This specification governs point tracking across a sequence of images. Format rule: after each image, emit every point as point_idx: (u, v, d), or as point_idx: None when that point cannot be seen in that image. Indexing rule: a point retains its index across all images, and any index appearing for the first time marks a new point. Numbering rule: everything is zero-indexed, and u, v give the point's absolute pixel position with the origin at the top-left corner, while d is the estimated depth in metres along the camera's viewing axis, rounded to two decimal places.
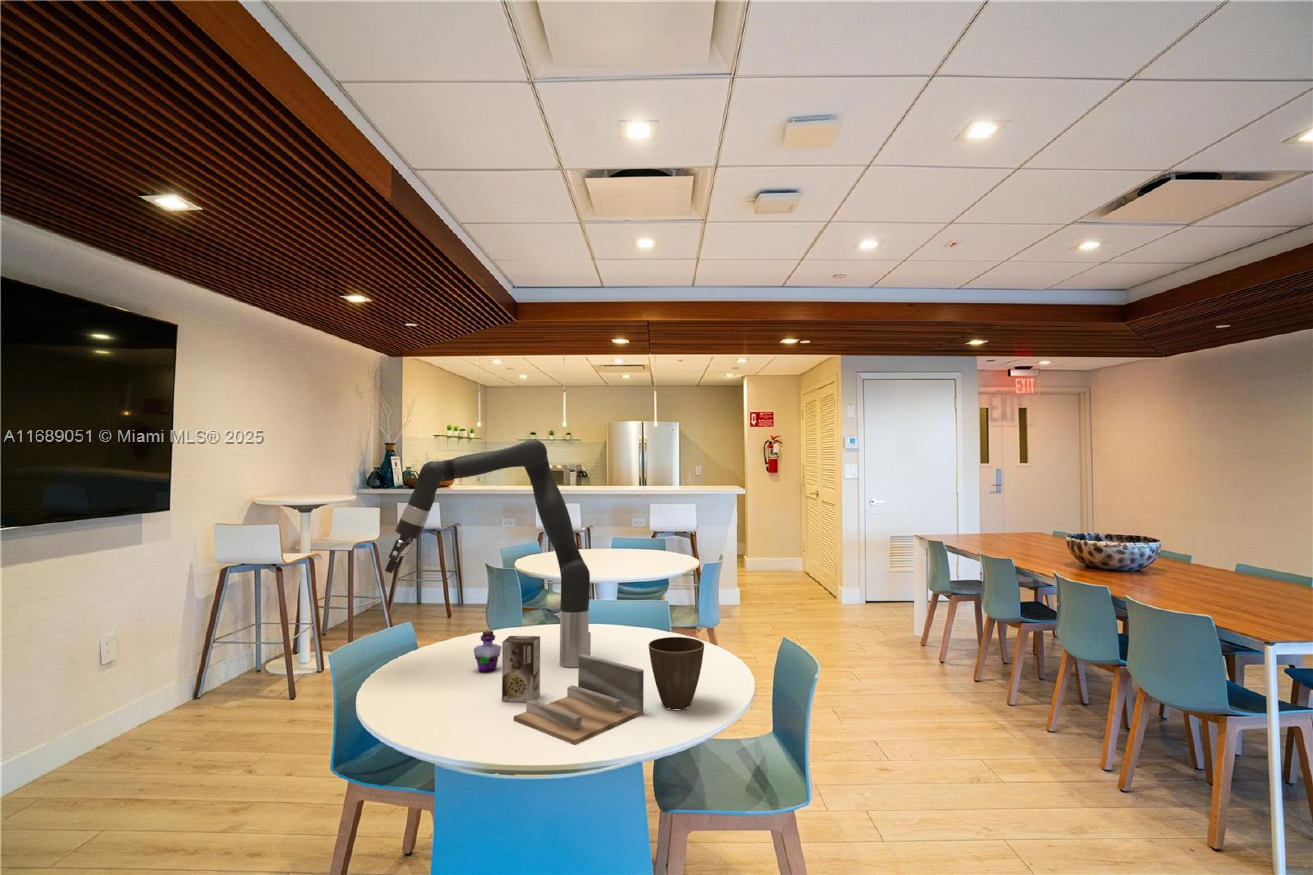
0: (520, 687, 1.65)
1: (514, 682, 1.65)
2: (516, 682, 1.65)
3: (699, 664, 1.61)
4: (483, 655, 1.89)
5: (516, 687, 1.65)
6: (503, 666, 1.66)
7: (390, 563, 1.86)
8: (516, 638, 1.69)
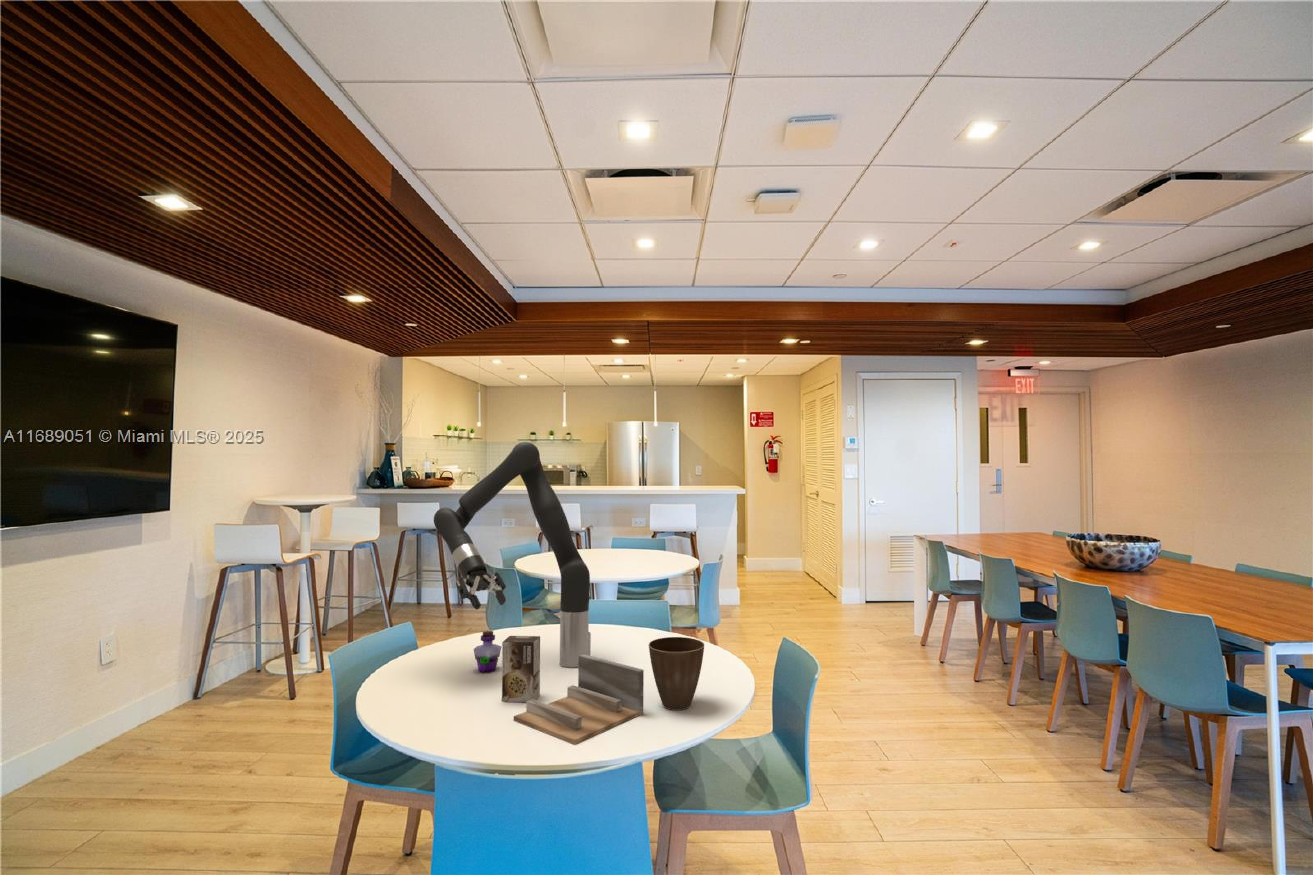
0: (520, 687, 1.65)
1: (514, 682, 1.65)
2: (516, 682, 1.65)
3: (699, 664, 1.61)
4: (483, 655, 1.89)
5: (516, 687, 1.65)
6: (503, 666, 1.66)
7: (471, 600, 1.76)
8: (516, 638, 1.69)
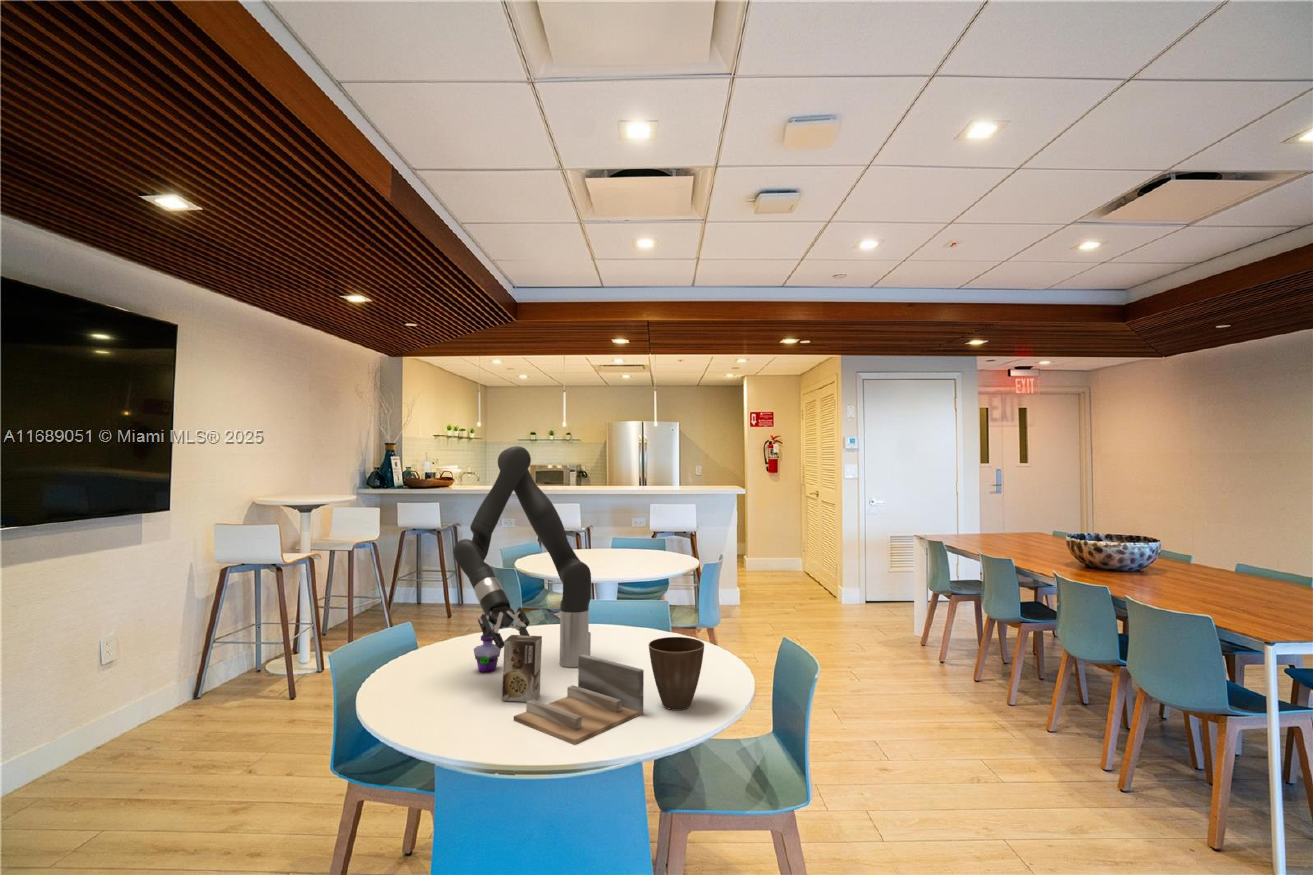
0: (520, 687, 1.65)
1: (514, 681, 1.65)
2: (517, 681, 1.65)
3: (699, 664, 1.61)
4: (483, 655, 1.89)
5: (516, 687, 1.65)
6: (504, 665, 1.66)
7: (494, 639, 1.68)
8: (518, 637, 1.69)
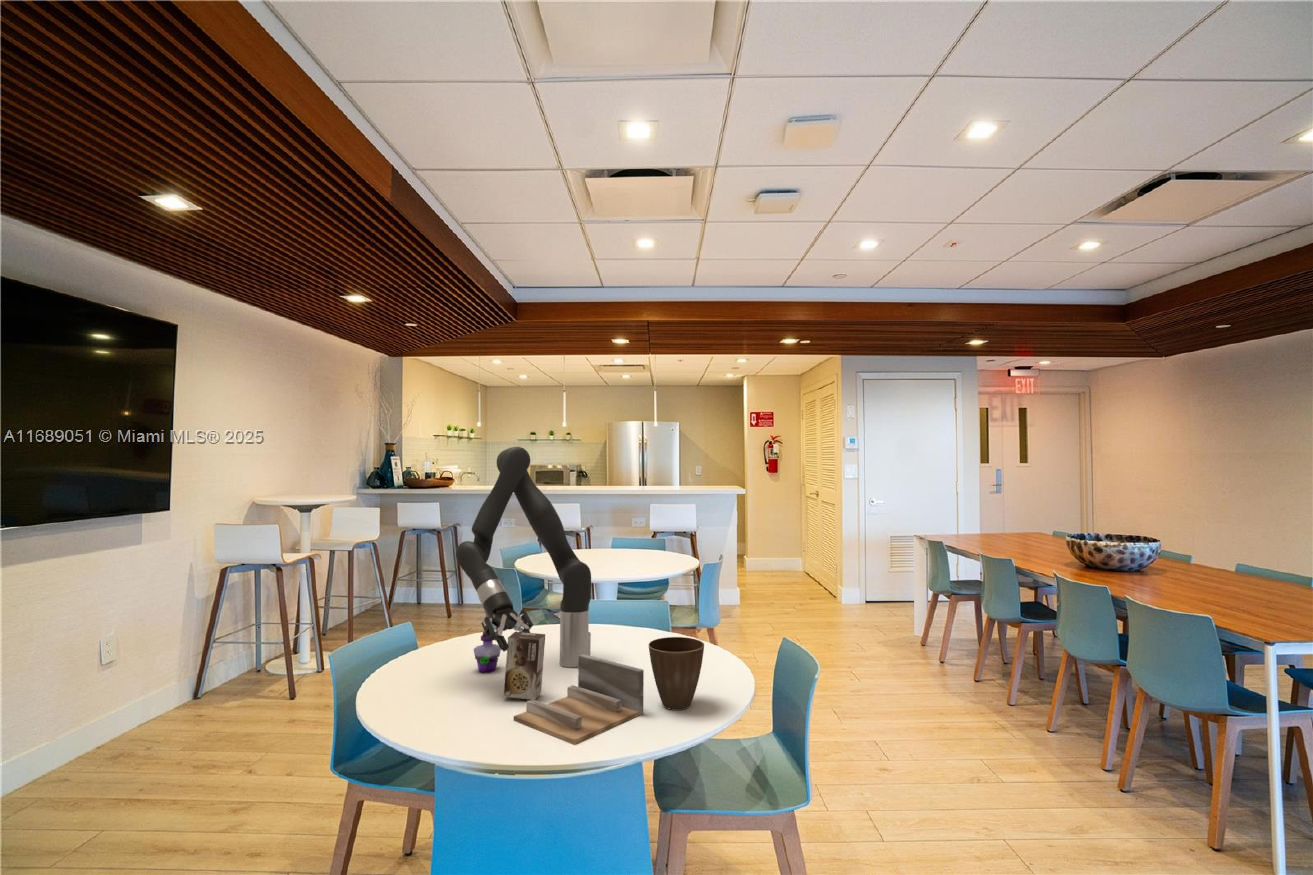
0: (522, 684, 1.65)
1: (517, 678, 1.66)
2: (519, 678, 1.66)
3: (699, 664, 1.61)
4: (483, 655, 1.89)
5: (518, 683, 1.66)
6: (507, 661, 1.66)
7: (498, 642, 1.67)
8: (522, 634, 1.70)
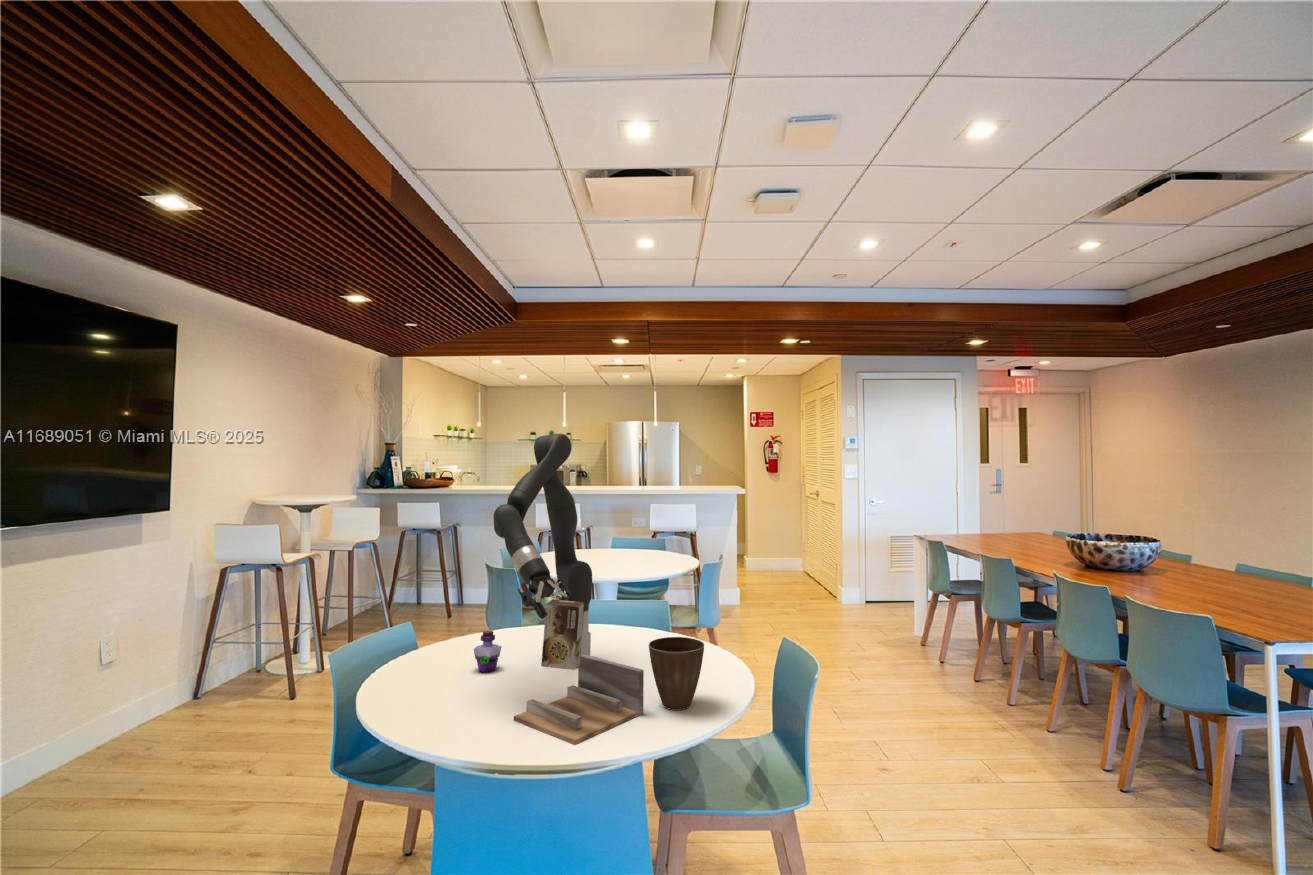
0: (561, 653, 1.57)
1: (555, 647, 1.57)
2: (558, 647, 1.57)
3: (699, 664, 1.61)
4: (483, 655, 1.89)
5: (557, 653, 1.57)
6: (545, 629, 1.58)
7: (535, 609, 1.59)
8: (560, 602, 1.61)
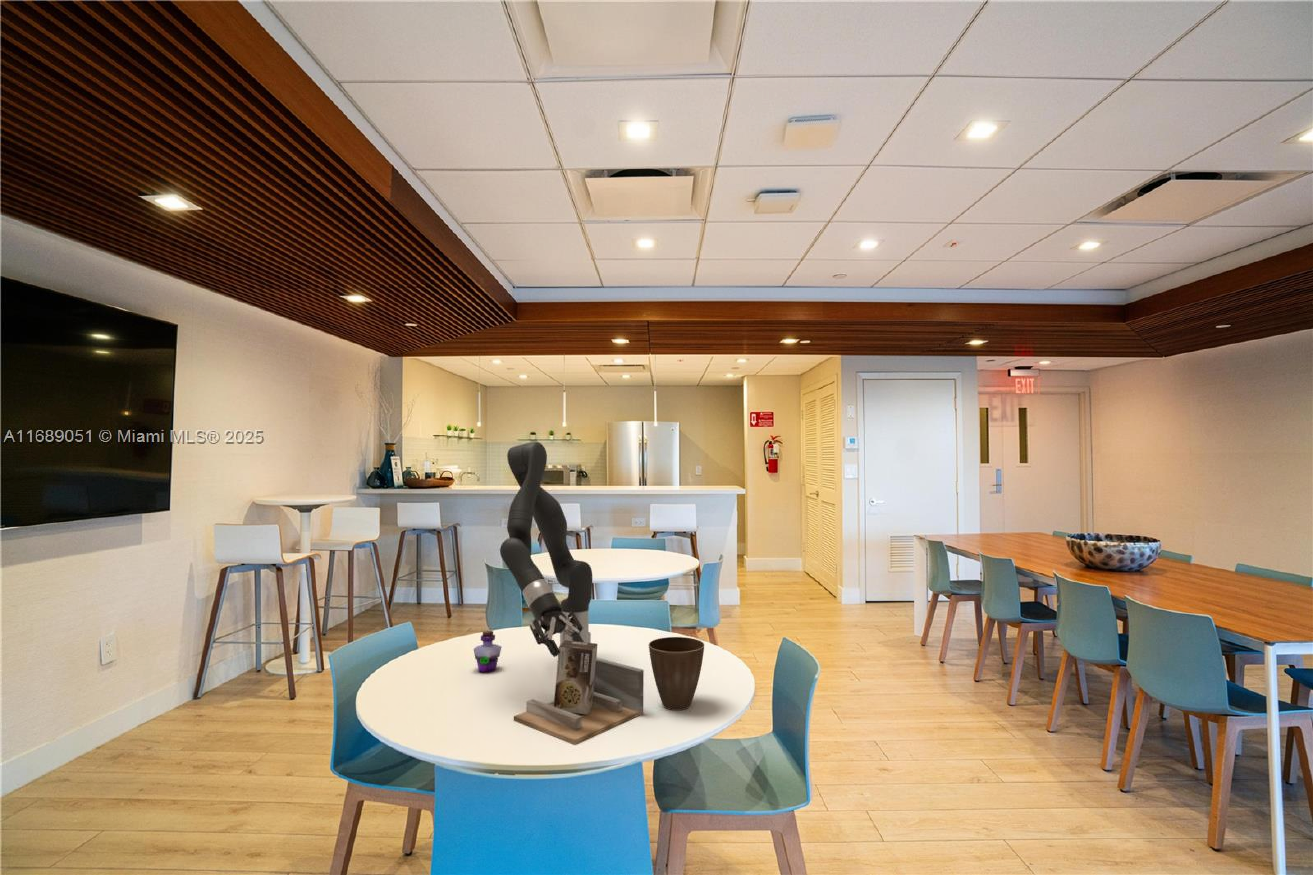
0: (574, 697, 1.54)
1: (568, 690, 1.54)
2: (570, 691, 1.54)
3: (699, 664, 1.61)
4: (482, 655, 1.89)
5: (570, 697, 1.54)
6: (558, 673, 1.55)
7: (548, 646, 1.56)
8: (573, 644, 1.58)
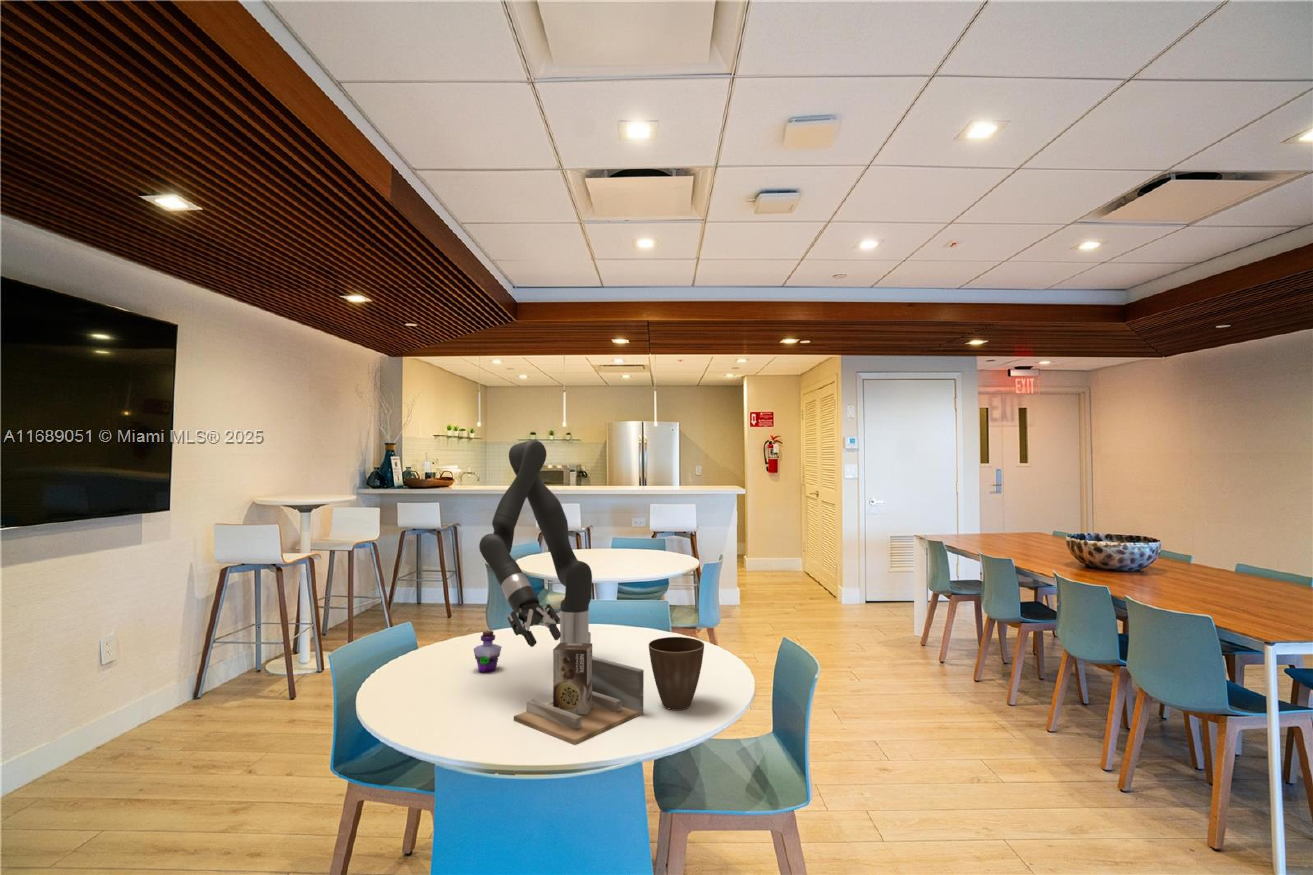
0: (572, 698, 1.54)
1: (566, 692, 1.54)
2: (568, 693, 1.54)
3: (699, 664, 1.61)
4: (483, 655, 1.89)
5: (568, 698, 1.54)
6: (554, 675, 1.55)
7: (525, 637, 1.62)
8: (567, 645, 1.58)
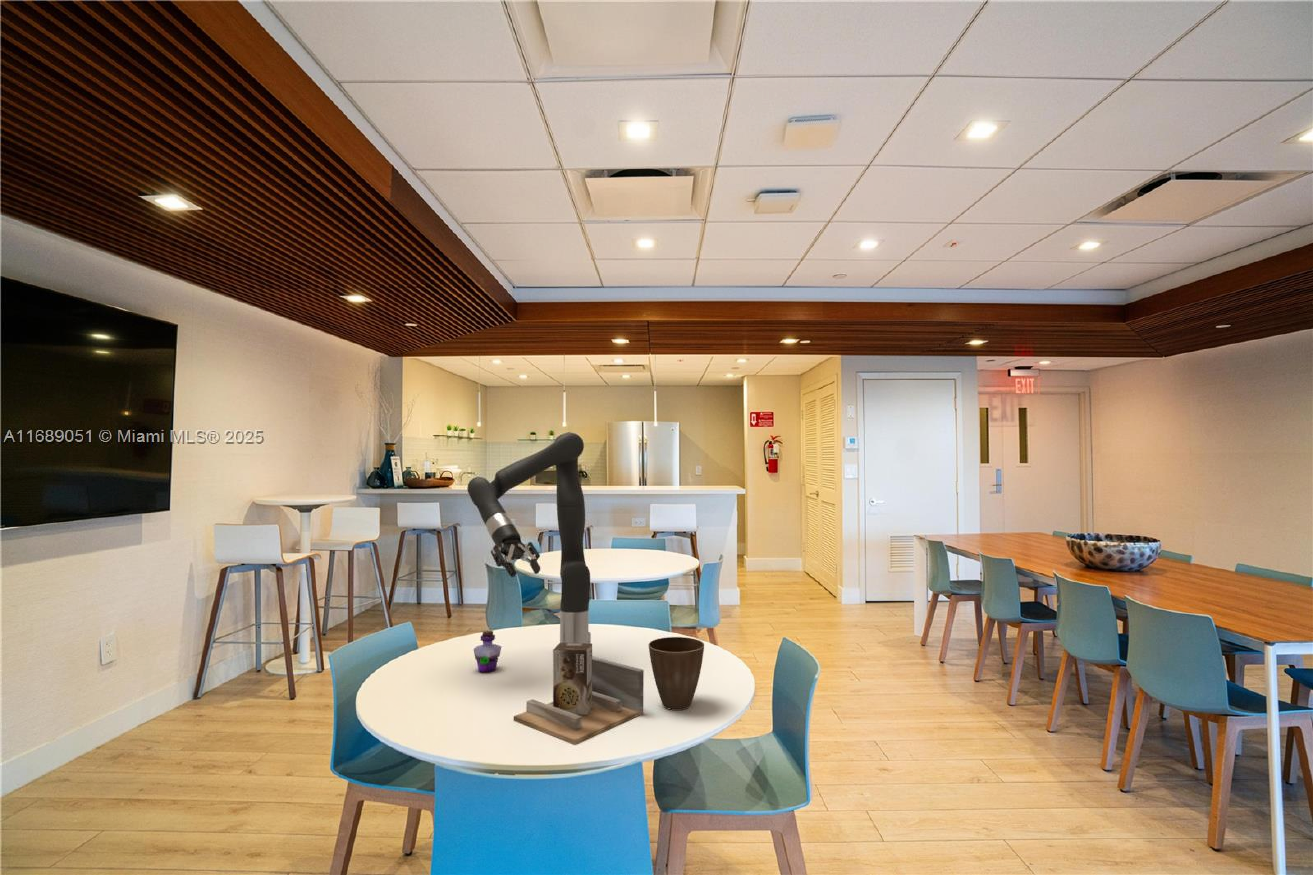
0: (572, 699, 1.54)
1: (566, 692, 1.54)
2: (568, 693, 1.54)
3: (699, 664, 1.61)
4: (482, 655, 1.89)
5: (568, 698, 1.54)
6: (554, 676, 1.55)
7: (506, 568, 1.75)
8: (567, 645, 1.58)
